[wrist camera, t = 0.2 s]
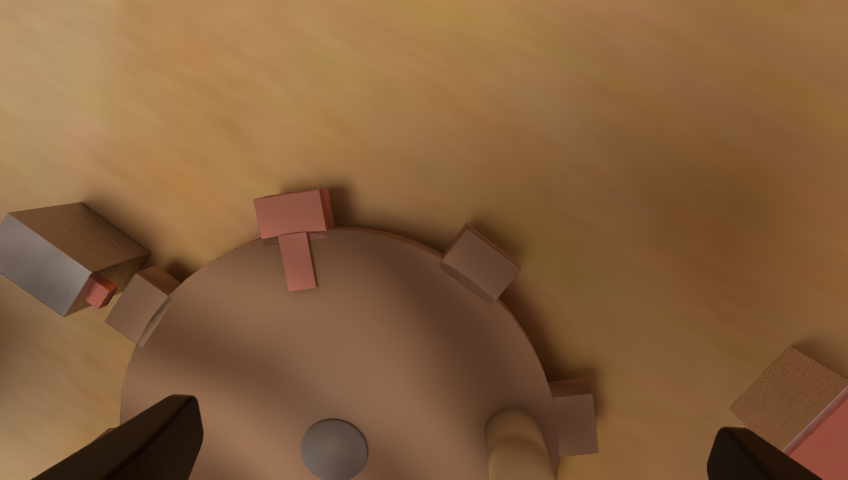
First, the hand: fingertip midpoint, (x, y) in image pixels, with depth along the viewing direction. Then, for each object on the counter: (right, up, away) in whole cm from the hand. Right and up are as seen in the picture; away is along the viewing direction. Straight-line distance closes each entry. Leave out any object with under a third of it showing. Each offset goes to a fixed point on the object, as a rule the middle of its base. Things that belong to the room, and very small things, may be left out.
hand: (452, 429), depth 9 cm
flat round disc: (-4, -6, +17) cm, 18 cm away
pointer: (-16, +3, +16) cm, 23 cm away
